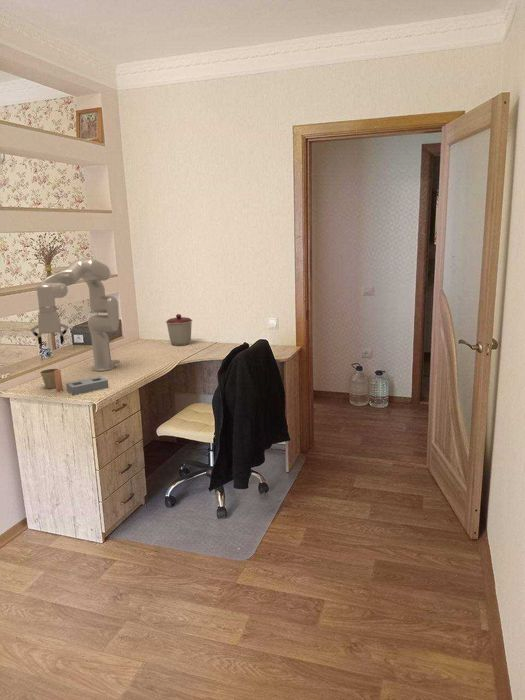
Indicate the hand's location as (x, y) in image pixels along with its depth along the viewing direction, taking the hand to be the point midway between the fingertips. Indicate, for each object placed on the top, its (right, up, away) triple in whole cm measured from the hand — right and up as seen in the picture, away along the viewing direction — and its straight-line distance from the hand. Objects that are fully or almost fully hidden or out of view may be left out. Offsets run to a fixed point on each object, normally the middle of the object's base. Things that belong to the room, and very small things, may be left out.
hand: (51, 344), depth 263 cm
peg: (+1, -24, +8) cm, 25 cm away
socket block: (+15, -23, +9) cm, 29 cm away
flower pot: (-6, -22, +16) cm, 28 cm away
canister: (+48, +1, +104) cm, 114 cm away
